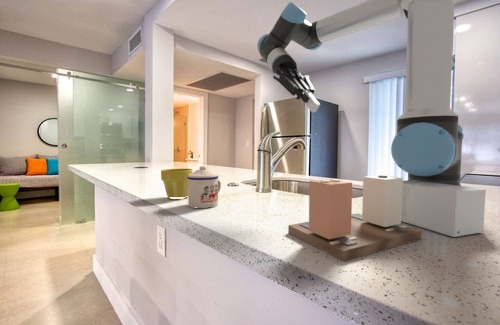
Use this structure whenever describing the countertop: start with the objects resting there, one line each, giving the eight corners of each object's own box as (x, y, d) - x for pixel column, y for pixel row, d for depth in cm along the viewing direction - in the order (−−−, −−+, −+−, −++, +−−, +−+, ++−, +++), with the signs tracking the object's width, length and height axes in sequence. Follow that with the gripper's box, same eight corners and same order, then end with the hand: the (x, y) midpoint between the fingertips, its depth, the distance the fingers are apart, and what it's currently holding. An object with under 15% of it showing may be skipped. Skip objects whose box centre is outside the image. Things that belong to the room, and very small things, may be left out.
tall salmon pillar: (329, 226, 47) (330, 177, 47) (350, 234, 43) (352, 180, 42) (308, 230, 45) (309, 179, 44) (329, 239, 41) (330, 182, 40)
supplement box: (413, 214, 63) (484, 234, 49) (386, 217, 61) (453, 239, 46) (415, 179, 63) (488, 188, 49) (388, 180, 60) (456, 191, 46)
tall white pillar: (378, 217, 54) (379, 174, 53) (401, 223, 49) (402, 176, 49) (362, 220, 51) (363, 175, 51) (384, 227, 47) (386, 177, 46)
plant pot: (155, 198, 84) (154, 169, 83) (179, 194, 92) (179, 167, 92) (175, 202, 78) (174, 171, 77) (199, 197, 86) (199, 169, 86)
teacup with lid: (203, 210, 68) (202, 167, 67) (181, 206, 73) (180, 166, 72) (231, 202, 77) (230, 165, 77) (209, 199, 83) (209, 164, 82)
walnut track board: (357, 219, 59) (358, 212, 59) (421, 239, 46) (421, 229, 46) (288, 232, 50) (288, 224, 50) (343, 261, 37) (343, 249, 37)
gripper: (293, 77, 88) (326, 120, 75) (261, 72, 83) (290, 117, 69) (302, 57, 83) (340, 98, 70) (269, 50, 78) (303, 94, 64)
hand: (315, 108), depth 69 cm, fingers closed
